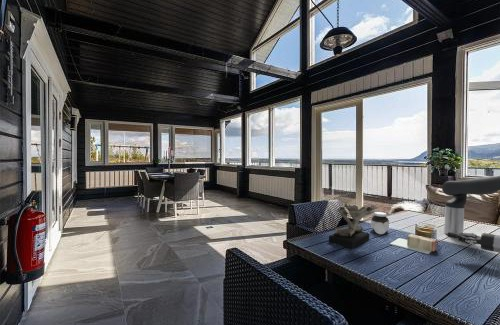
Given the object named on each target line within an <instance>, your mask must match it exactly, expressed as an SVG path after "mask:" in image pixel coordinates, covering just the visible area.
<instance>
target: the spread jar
mask: <svg viewBox="0 0 500 325" xmlns="http://www.w3.org/2000/svg"><path fill="white" fill-rule="evenodd" d="M373 214H374V215H372V217H371V219H370V227H371V230H372V231H374V232H375V233H376V234H378V235H385V233H387V232H388V231H389V229H390V220H389V218H388V216H387V213H386V212H381V211H374V212H373Z"/></svg>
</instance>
